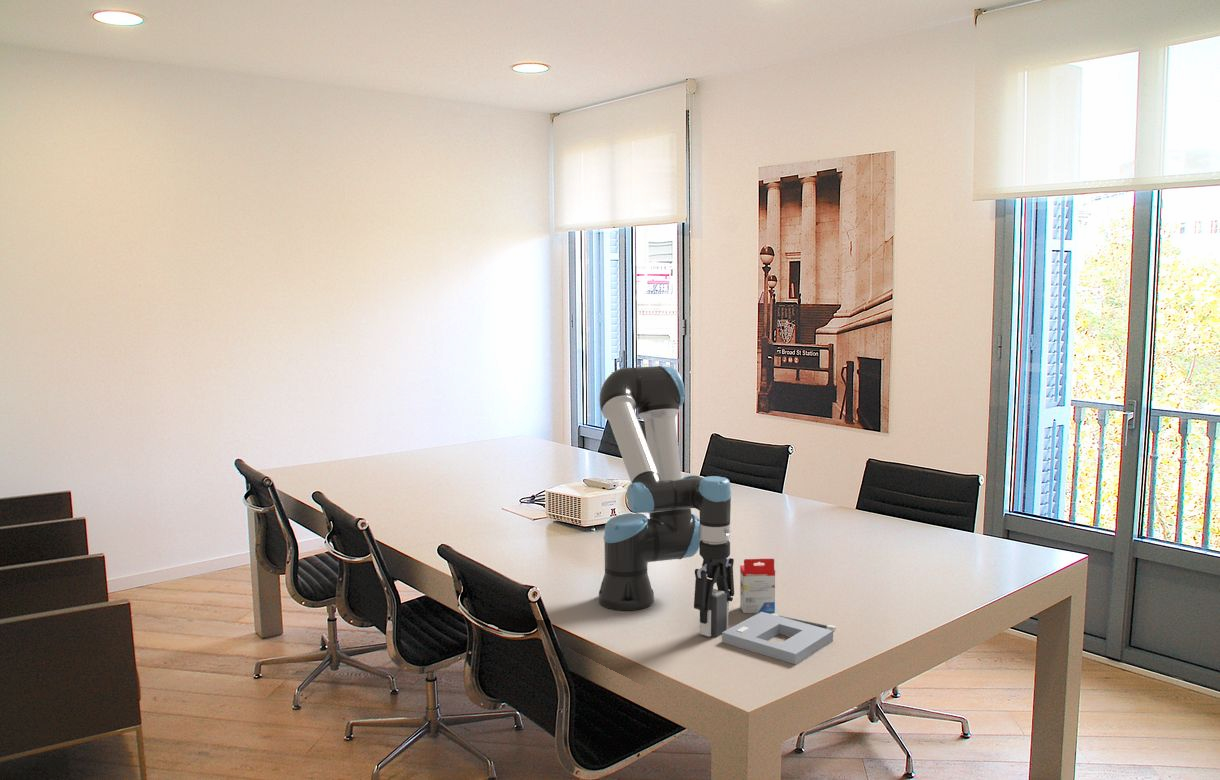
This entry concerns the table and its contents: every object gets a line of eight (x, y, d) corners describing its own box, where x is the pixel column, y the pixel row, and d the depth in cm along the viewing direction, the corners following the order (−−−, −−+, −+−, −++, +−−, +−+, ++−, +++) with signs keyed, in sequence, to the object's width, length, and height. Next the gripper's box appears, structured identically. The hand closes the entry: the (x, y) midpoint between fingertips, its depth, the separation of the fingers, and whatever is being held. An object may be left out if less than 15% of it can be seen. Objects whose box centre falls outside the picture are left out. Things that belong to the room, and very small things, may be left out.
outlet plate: (722, 642, 218) (722, 631, 217) (761, 620, 231) (761, 610, 231) (795, 664, 205) (795, 653, 204) (833, 640, 218) (833, 629, 218)
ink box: (771, 606, 241) (771, 553, 240) (775, 613, 237) (775, 558, 235) (739, 607, 241) (739, 553, 239) (742, 613, 236) (743, 559, 235)
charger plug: (701, 632, 224) (702, 591, 222) (711, 627, 227) (712, 586, 226) (716, 637, 221) (716, 595, 219) (726, 632, 224) (726, 590, 223)
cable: (770, 617, 233) (770, 614, 233) (772, 616, 234) (772, 613, 234) (834, 631, 224) (834, 627, 224) (836, 629, 225) (836, 626, 225)
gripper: (704, 552, 211) (703, 646, 214) (749, 534, 226) (748, 622, 229) (678, 546, 216) (678, 638, 219) (724, 529, 231) (723, 615, 234)
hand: (714, 630), depth 224 cm, fingers open, 7 cm apart
